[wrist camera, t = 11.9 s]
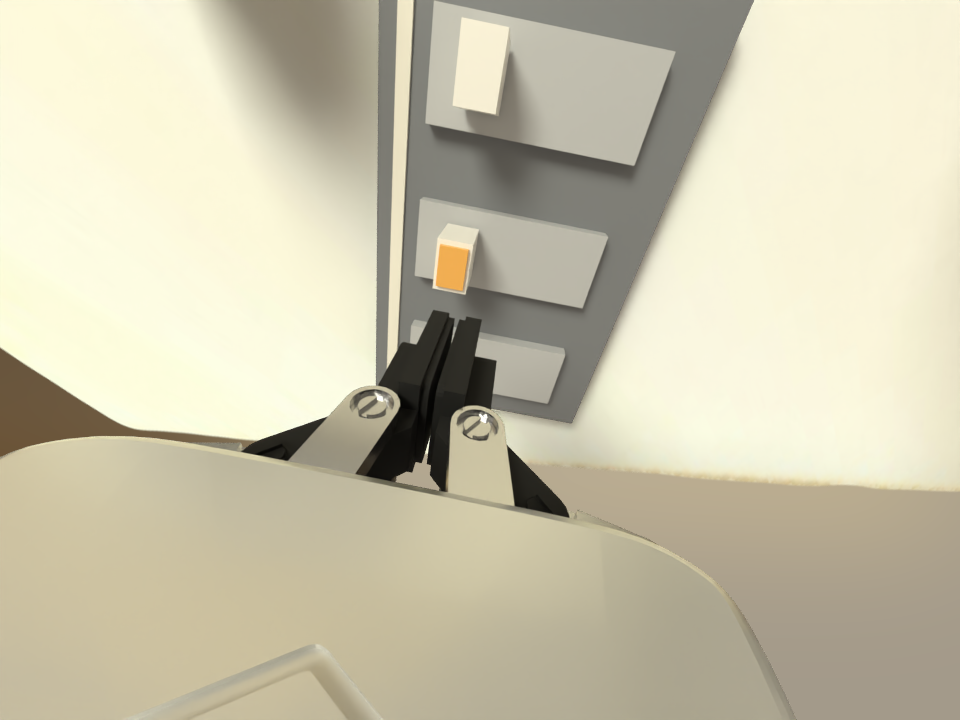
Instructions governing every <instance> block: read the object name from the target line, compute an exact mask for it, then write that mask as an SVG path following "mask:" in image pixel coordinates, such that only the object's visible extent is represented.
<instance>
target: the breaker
mask: <svg viewBox="0 0 960 720" xmlns="http://www.w3.org/2000/svg"><path fill="white" fill-rule="evenodd" d="M510 45H511V40H510V28H509V27H506V26H501V25H497V24H492V23H487V22H482V21H478V20H473V19H468V18H463V17H462V18H461V28H460V37H459V47H458V57H457V66H456V76H455V86H454V96H453V105H452V106H455V107H458V108H462V109H466V110H471V111H476V112H481V113H485V114H490V115H495V116H499V112H500V106H501V100H502V94H503V88H504V82H505V76H506V69H507V63H508V57H509V51H510Z"/></svg>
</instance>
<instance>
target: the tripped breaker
mask: <svg viewBox="0 0 960 720" xmlns="http://www.w3.org/2000/svg"><path fill="white" fill-rule="evenodd" d="M478 233H479V229H475V228H470V227H465V226H460V225H455V224H450V223H448V224H447V225H446V227H445V228H444V229H443V231H442V232H441V234H440V235H439V236H438V238H437V248H436V258H435V268H434V278H433V289H438V290H444V291H449V292H454V293H459V294H464V295H466V291H467V288H468V285H469V282H470V278H471V275H472V270H473V263H474V257H475V251H476V245H477V239H478Z"/></svg>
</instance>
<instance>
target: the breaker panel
mask: <svg viewBox="0 0 960 720" xmlns="http://www.w3.org/2000/svg"><path fill="white" fill-rule="evenodd" d="M753 2H754V0H379V71H378V195H377V319H376V386H378V384H379V382H380V381H381V379H382V377H383V375H384V373H385V372H386V370H387V368H388V366H389V364H390V362H391V361H392V359H393V357H394V355H395V353H396V352H397V350H398V348H399V346H400V344H401V343H402V342H407V343H412V344H417V342H418V340H419V338H420V336H421V334H422V332H423V330H424V328H425V326H426V324H427V321H428V319H429V317H430V315H431V313H432V311H433V310H437V311H442V312H447V313H449V317H451V318H455V321H454V329H453V335H452V340H453V337H454V334H455V331H456V328H457V325H458V322H459V319H461V320H465V319H466V316H467V317H472V318H477V319H482V322H481V327H480V333H479V338H478V343H477V348H476V353H475V356H477V357H482V358H487V359H492V360H497V363H496V372H495V380H494V388H493V396H492V404H491V408H492V409H498V410H503V411H508V412H514V413H519V414H524V415H530V416H535V417H540V418H545V419H551V420H556V421H561V422H567V423H572V422H573V419H574V417H575V415H576V412H577V410H578V408H579V405H580V403H581V401H582V398H583V396H584V394H585V391H586V389H587V387H588V384H589V382H590V380H591V377H592V375H593V373H594V371H595V368H596V366H597V364H598V361H599V359H600V357H601V354H602V352H603V350H604V347H605V345H606V343H607V340H608V338H609V336H610V333H611V331H612V329H613V326H614V324H615V322H616V319H617V317H618V315H619V312H620V310H621V308H622V306H623V303H624V301H625V299H626V296H627V294H628V292H629V289H630V287H631V285H632V282H633V280H634V278H635V275H636V273H637V271H638V268H639V266H640V264H641V261H642V259H643V257H644V254H645V252H646V250H647V248H648V245H649V243H650V241H651V238H652V236H653V234H654V231H655V229H656V227H657V224H658V222H659V220H660V217H661V215H662V213H663V210H664V208H665V206H666V203H667V201H668V199H669V196H670V194H671V192H672V190H673V187H674V185H675V183H676V180H677V178H678V176H679V173H680V171H681V169H682V166H683V164H684V162H685V159H686V157H687V155H688V152H689V150H690V148H691V145H692V143H693V141H694V138H695V136H696V134H697V132H698V129H699V127H700V125H701V122H702V120H703V118H704V115H705V113H706V111H707V108H708V106H709V104H710V101H711V99H712V97H713V94H714V92H715V90H716V87H717V85H718V83H719V80H720V78H721V76H722V74H723V71H724V69H725V67H726V64H727V62H728V60H729V57H730V55H731V53H732V50H733V48H734V46H735V43H736V41H737V39H738V36H739V34H740V32H741V29H742V27H743V25H744V22H745V20H746V18H747V16H748V13H749V11H750V9H751V6H752V4H753ZM462 17H463V18H468V19H473V20H478V21H482V22H487V23H492V24H497V25H501V26H506V27H509V28H510V40H511V45H510V51H509V57H508V63H507V69H506V76H505V82H504V88H503V94H502V100H501V106H500V112H499V116H495V115H490V114H485V113H481V112H476V111H471V110H466V109H462V108H458V107H455V106H452V105H453V96H454V86H455V76H456V66H457V57H458V47H459V37H460V28H461V18H462ZM448 223H450V224H455V225H460V226H465V227H470V228H475V229H479V233H478V239H477V245H476V251H475V257H474V263H473V270H472V275H471V278H470V282H469V285H468V288H467V291H466V295H464V294H459V293H454V292H449V291H444V290H438V289H433V278H434V268H435V258H436V248H437V238H438V236H439V235H440V234H441V232H442V231H443V229H444V228H445V227H446V225H447V224H448ZM451 343H452V342H451Z"/></svg>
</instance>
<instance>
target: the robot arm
mask: <svg viewBox="0 0 960 720" xmlns="http://www.w3.org/2000/svg"><path fill="white" fill-rule="evenodd" d="M454 321H455V318H451V317H449V313H447V312H442V311H437V310H433V311H432V313H431V315H430V317H429V319H428V321H427V324H426V326H425V328H424V330H423V332H422V334H421V336H420V338H419V340H418V342H417V344H412V343H407V342H402V343H401V344H400V346H399V348H398V350H397V352H396V353H395V355H394V357H393V359H392V361H391V362H390V364H389V366H388V368H387V370H386V372H385V373H384V375H383V377H382V379H381V381H380V382H379V384H378V386H366V387H361V388H358V389H356V390H354V391H352V392H351V393H350V394H349V395H347V397H346V398H345V399H344V400H343V401H342V402H341V403H340V404H339V405H338V406H337V408H336V409H335V410H334V411H333V412H332V413H331V414H330V415H329V416H328V417H325V418H322V419H319V420H316V421H313V422H311V423H308V424H305V425H302V426H299V427H296V428H293V429H290V430H287V431H284V432H282V433H279V434H276V435H273V436H270V437H267V438H264V439H261V440H259V441H257V442H255V443H252V444H251V445H249V446H248V447H246V448H242V445H241V443H184V442H177V441H170V440H163V439H155V438H144V437H129V436H95V437H85V438H74V439H65V440H59V441H52V442H47V443H42V444H38V445H33V446H29V447H26V448H23V449H20V450H17V451H14V452H11V453H9V454H7V455H5V456H2V457H0V720H797V719H796V717H795V715H794V713H793V711H792V708H791V706H790V704H789V702H788V700H787V697H786V695H785V693H784V691H783V689H782V687H781V685H780V683H779V681H778V679H777V676H776V674H775V672H774V670H773V668H772V666H771V664H770V662H769V660H768V658H767V656H766V654H765V652H764V651H763V649H762V647H761V645H760V643H759V641H758V640H757V638H756V636H755V634H754V632H753V630H752V629H751V627H750V625H749V623H748V622H747V620H746V618H745V617H744V615H743V614H742V612H741V611H740V609H739V608H738V606H737V605H736V603H735V602H734V601H733V600H732V598H731V597H730V596H729V595H728V594H727V592H726V591H725V590H724V589H723V588H722V587H721V586H720V585H719V584H718V583H717V582H716V581H715V580H713V579H712V578H711V577H710V576H708V575H707V574H706V573H704V572H703V571H702V570H700V569H699V568H697V567H696V566H694V565H693V564H691V563H690V562H688V561H687V560H685V559H683V558H681V557H680V556H678V555H676V554H674V553H672V552H671V551H669V550H667V549H666V548H663V547H661V546H659V545H657V544H656V543H654V542H652V541H651V540H649V539H647V538H644V537H642V536H639V535H637V534H634V533H632V532H630V531H627V530H625V529H622V528H620V527H618V526H615V525H613V524H611V523H608V522H606V521H603V520H601V519H599V518H596V517H594V516H591V515H589V514H587V513H584V512H582V511H579V510H578V511H577V512H576V514H575V513H573V512H571V511H568V510H567V509H566V506H565V505H564V504H563V503H562V501H561V500H560V499H559V498H558V497H557V496H556V495H555V494H554V493H553V492H552V491H551V490H550V489H549V488H548V486H546V484H544V482H542V480H541V479H539V477H538V476H537V475H536V474H535V473H534V472H533V471H532V470H531V469H530V468H529V467H528V466H527V465H526V464H525V463H524V462H523V461H522V460H521V459H520V458H519V457H518V456H517V455H516V454H515V453H514V452H513V451H512V450H511V449H510V448H509V447H508V446H507V443H506V436H505V428H504V424H503V421H502V420H501V418H500V417H499V416H498V415H497V414H496V413H495V412H493V411H492V410H491V404H492V396H493V388H494V380H495V372H496V363H497V360H492V359H487V358H482V357H477V356H475V353H476V348H477V343H478V338H479V333H480V327H481V322H482V319H477V318H472V317H467V316H466V319H465V320H461V319H459V322H458V325H457V328H456V331H455V334H454V337H453V340H452V335H453V329H454ZM451 342H452V343H451ZM430 434H431V435H430ZM429 438H430V443H429V451H428V459H427V464H429V465H431V471H430V476H431V477H432V478H433V480H434V481H435V482H436V484H437V485H438V486H439V488H440V489H439V491H437V490H431V489H427V488H422V487H417V486H412V485H407V484H402V483H397V482H396V476H398V475H400V474H402V473H404V472H406V471H407V472H412V471H413V468H414V465H415V462H419V463H422V460H423V458H424V454H425V451H426V448H427V444H428V441H429Z"/></svg>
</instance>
